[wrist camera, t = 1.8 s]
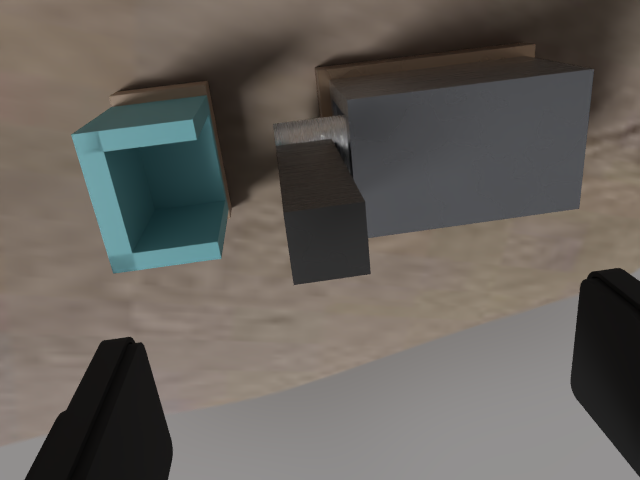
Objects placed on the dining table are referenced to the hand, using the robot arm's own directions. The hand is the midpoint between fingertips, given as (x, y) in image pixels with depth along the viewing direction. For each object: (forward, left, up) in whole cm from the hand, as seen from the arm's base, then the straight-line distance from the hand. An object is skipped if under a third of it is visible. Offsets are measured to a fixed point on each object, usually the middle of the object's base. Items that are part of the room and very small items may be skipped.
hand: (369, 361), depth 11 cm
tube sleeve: (0, +7, -19) cm, 20 cm away
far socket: (0, -7, -19) cm, 20 cm away
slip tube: (0, +4, -17) cm, 17 cm away
